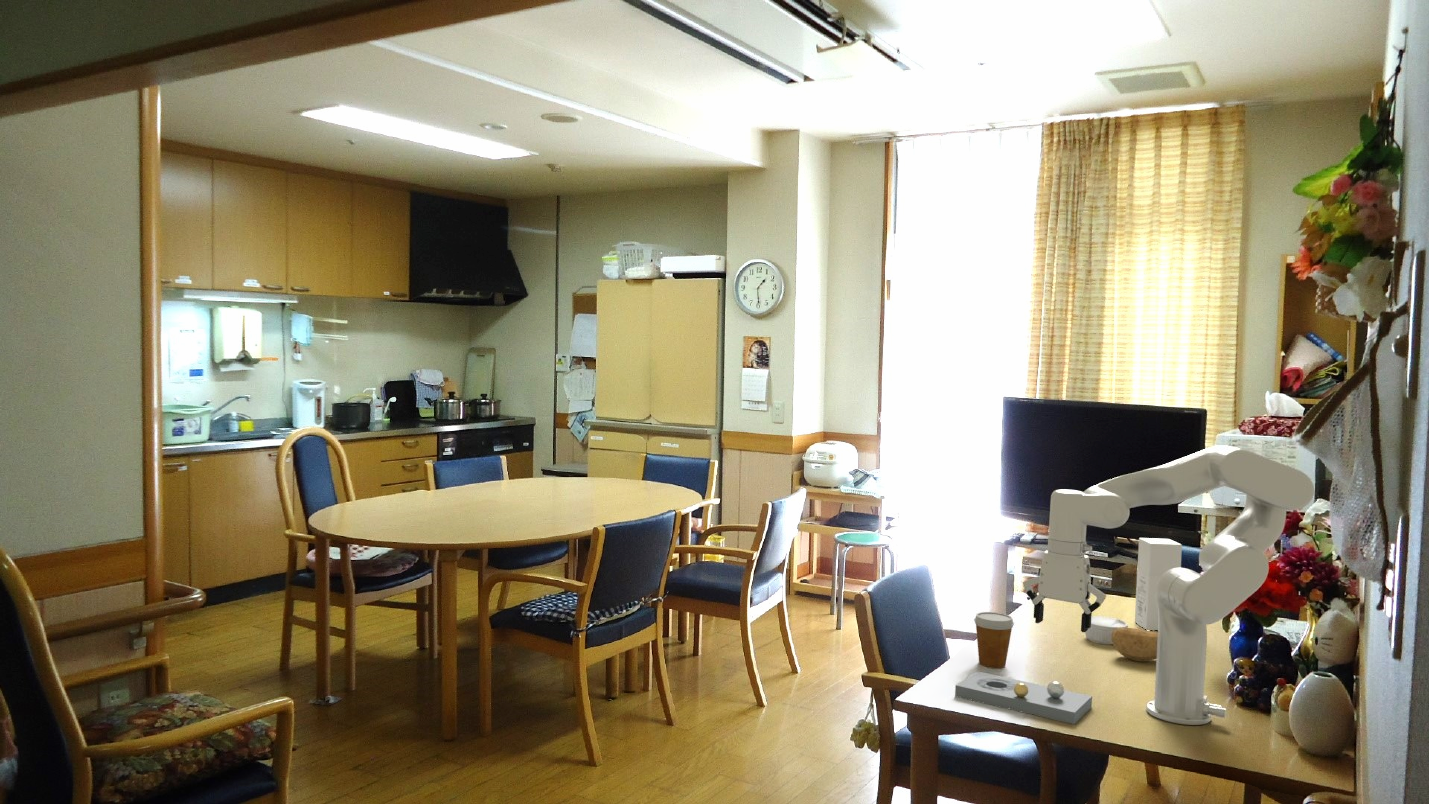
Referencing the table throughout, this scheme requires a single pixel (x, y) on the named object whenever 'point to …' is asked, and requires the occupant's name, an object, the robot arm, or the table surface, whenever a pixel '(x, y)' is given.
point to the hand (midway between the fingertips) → (1061, 626)
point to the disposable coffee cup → (993, 638)
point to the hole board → (1034, 702)
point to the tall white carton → (1153, 576)
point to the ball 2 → (1055, 689)
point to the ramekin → (1103, 629)
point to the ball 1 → (1021, 690)
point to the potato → (1135, 643)
